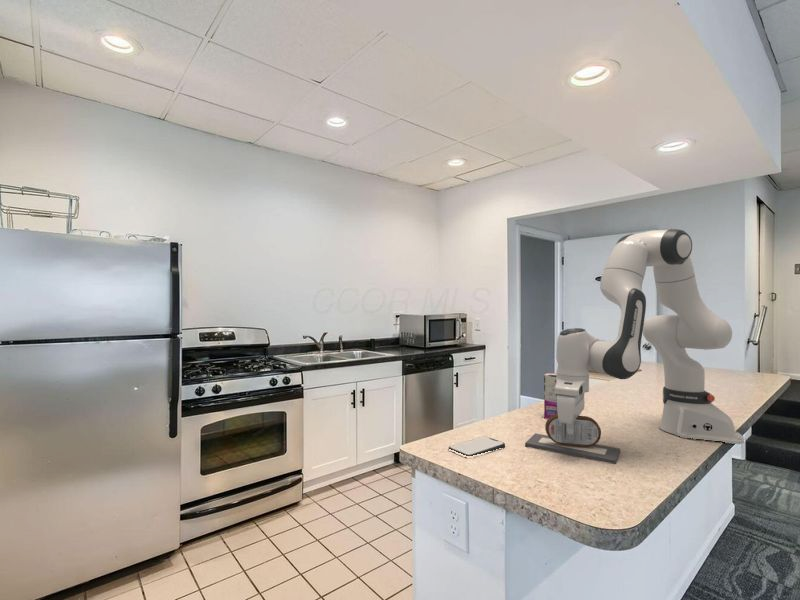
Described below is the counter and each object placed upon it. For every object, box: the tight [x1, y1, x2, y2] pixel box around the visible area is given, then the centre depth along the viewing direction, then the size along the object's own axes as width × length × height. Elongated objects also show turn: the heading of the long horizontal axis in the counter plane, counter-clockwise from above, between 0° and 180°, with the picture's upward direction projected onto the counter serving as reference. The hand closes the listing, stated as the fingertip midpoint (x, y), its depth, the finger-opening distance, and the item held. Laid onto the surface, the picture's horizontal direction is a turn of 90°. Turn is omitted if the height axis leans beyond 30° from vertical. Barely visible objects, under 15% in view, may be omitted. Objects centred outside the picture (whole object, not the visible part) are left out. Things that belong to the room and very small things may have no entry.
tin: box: [544, 414, 602, 447], centre depth 119 cm, size 15×3×8 cm, turn 76°
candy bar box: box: [543, 372, 558, 420], centre depth 151 cm, size 11×5×16 cm, turn 68°
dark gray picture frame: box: [524, 432, 621, 465], centre depth 119 cm, size 24×11×1 cm, turn 57°
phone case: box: [448, 436, 506, 456], centre depth 119 cm, size 9×2×16 cm
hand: (572, 431), depth 119 cm, fingers closed on tin, 3 cm apart
